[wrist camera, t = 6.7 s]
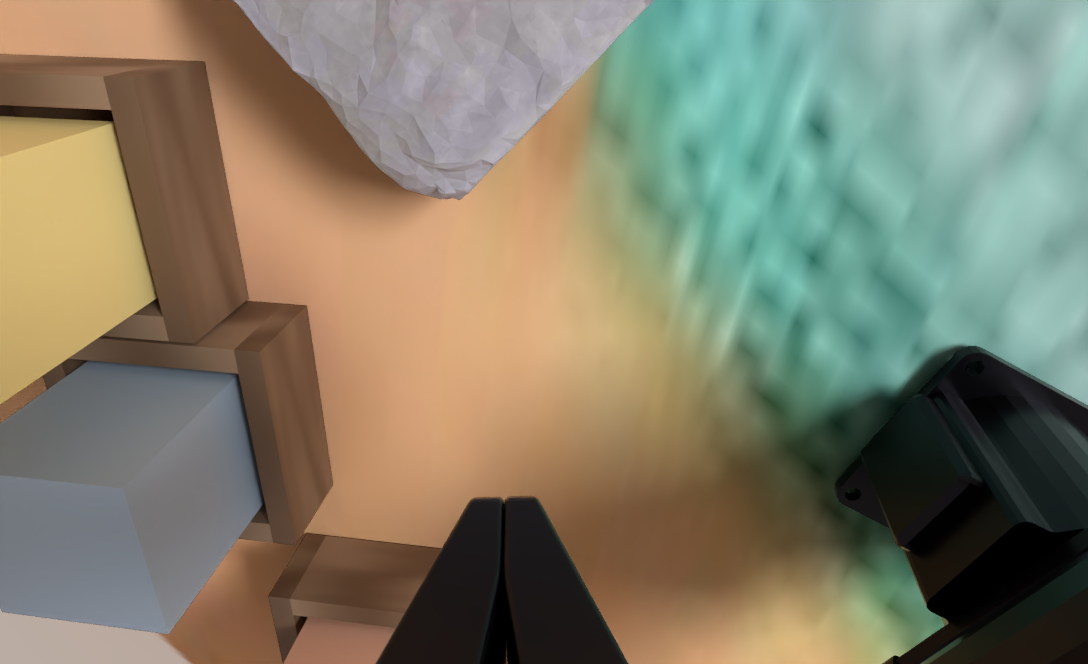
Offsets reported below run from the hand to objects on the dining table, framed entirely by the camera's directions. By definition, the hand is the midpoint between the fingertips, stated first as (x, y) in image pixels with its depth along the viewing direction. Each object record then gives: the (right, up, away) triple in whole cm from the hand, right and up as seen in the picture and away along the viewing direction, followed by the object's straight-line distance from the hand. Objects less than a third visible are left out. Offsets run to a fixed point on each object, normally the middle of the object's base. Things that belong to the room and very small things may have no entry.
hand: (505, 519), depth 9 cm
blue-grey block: (-11, 0, +16) cm, 20 cm away
